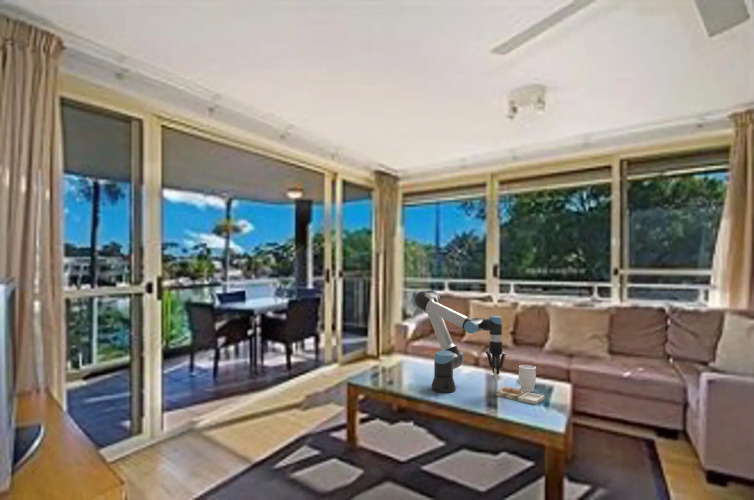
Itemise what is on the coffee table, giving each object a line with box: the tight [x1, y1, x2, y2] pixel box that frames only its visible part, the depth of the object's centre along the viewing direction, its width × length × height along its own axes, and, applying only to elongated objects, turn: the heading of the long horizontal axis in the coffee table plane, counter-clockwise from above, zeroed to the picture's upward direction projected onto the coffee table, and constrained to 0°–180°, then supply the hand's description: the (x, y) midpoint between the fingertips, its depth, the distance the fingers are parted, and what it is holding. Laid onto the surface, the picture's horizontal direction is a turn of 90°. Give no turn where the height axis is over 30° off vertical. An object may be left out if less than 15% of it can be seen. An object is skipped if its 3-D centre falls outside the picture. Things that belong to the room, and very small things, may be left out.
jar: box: [518, 364, 537, 393], centre depth 280 cm, size 11×10×15 cm
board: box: [495, 387, 527, 401], centre depth 268 cm, size 14×12×2 cm
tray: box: [517, 392, 546, 406], centre depth 260 cm, size 10×14×2 cm
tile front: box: [511, 387, 522, 394], centre depth 266 cm, size 4×4×2 cm
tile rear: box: [502, 386, 514, 392], centre depth 269 cm, size 4×4×2 cm
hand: (496, 379), depth 275 cm, fingers closed
